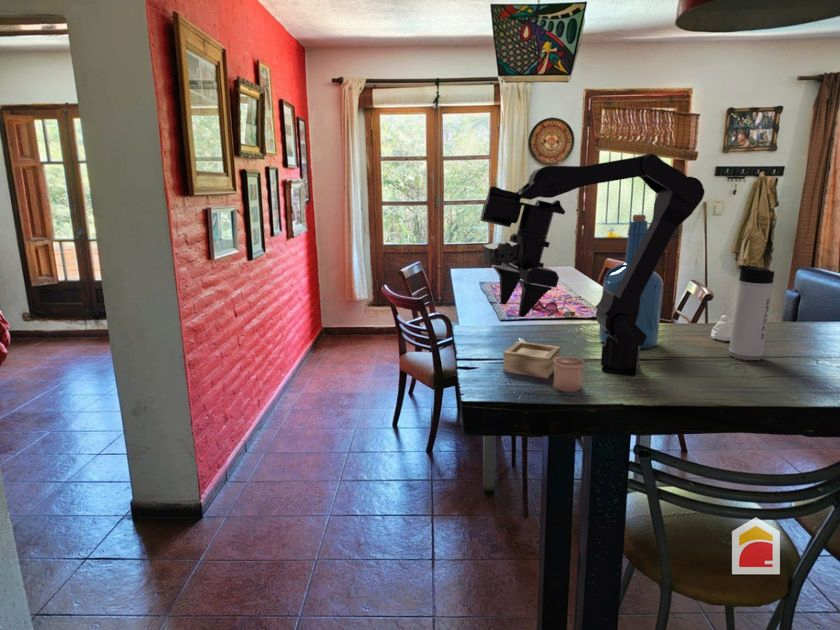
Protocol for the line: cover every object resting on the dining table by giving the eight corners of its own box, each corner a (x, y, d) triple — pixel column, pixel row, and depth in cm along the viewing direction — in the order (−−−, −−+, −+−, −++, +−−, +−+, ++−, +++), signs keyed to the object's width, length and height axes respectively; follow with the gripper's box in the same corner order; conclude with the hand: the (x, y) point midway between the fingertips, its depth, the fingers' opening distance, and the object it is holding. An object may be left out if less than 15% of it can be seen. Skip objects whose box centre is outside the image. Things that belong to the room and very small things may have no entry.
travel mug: (722, 351, 120) (734, 263, 116) (754, 353, 119) (768, 264, 114) (732, 360, 114) (745, 267, 110) (766, 362, 113) (781, 268, 108)
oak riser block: (559, 366, 111) (560, 346, 110) (547, 379, 103) (548, 358, 102) (517, 360, 115) (518, 341, 114) (503, 372, 107) (503, 352, 106)
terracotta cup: (585, 384, 100) (587, 359, 99) (578, 394, 95) (580, 367, 94) (556, 379, 102) (558, 355, 101) (548, 388, 98) (550, 362, 97)
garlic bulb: (710, 312, 132) (734, 313, 131) (707, 335, 133) (731, 337, 132) (717, 317, 127) (742, 318, 126) (714, 341, 128) (739, 343, 127)
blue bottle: (630, 333, 135) (641, 213, 129) (670, 347, 123) (685, 215, 117) (585, 338, 131) (594, 214, 124) (623, 353, 119) (635, 216, 112)
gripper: (477, 219, 109) (459, 292, 113) (514, 231, 92) (491, 317, 95) (526, 229, 112) (507, 300, 116) (570, 243, 95) (546, 326, 98)
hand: (511, 310), depth 106 cm, fingers open, 9 cm apart
